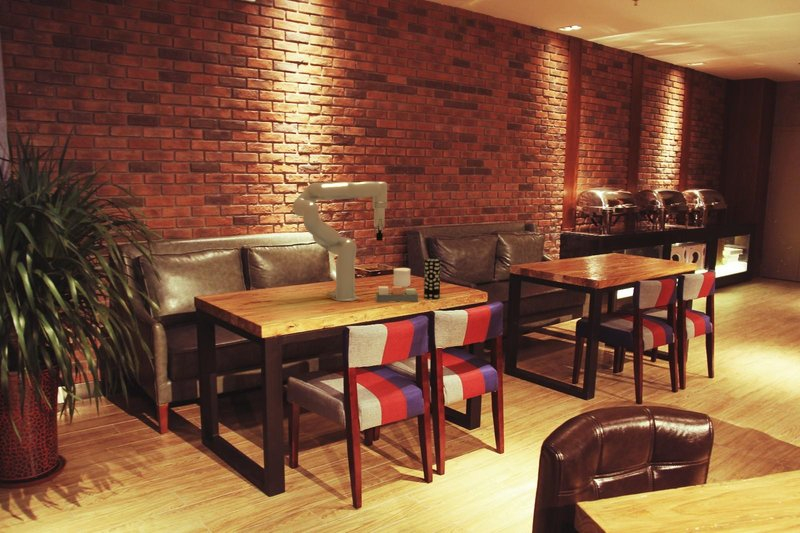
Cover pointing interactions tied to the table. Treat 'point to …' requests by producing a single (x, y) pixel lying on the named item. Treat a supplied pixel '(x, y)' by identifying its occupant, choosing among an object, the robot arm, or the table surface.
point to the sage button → (410, 291)
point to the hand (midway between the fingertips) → (379, 240)
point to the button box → (396, 297)
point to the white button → (382, 290)
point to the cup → (401, 277)
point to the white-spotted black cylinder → (432, 278)
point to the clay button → (396, 290)
